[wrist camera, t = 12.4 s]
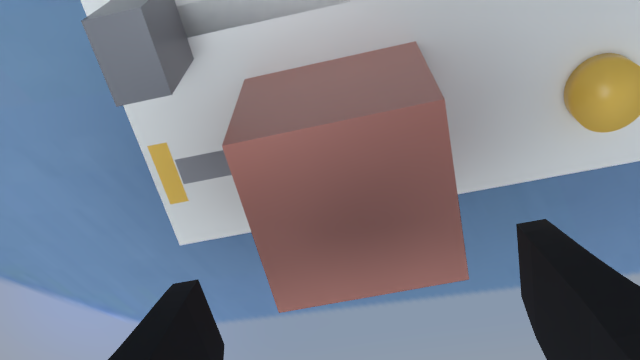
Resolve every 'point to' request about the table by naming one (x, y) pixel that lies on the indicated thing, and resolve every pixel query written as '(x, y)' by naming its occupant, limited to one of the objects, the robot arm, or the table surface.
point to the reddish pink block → (348, 178)
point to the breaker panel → (363, 36)
